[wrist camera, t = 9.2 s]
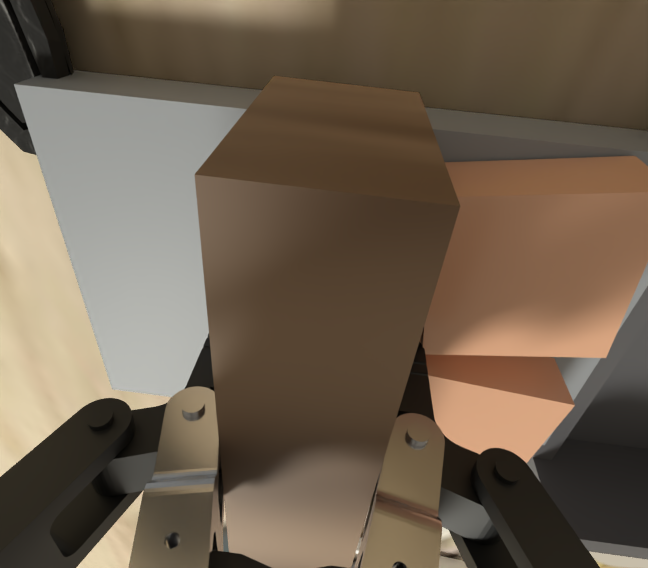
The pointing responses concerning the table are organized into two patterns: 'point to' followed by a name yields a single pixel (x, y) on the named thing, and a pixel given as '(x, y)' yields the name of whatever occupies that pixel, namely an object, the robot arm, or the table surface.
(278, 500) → the brown wooden block
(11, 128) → the hairbrush
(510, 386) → the tile
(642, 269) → the tile
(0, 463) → the table surface
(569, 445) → the tray
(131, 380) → the board
